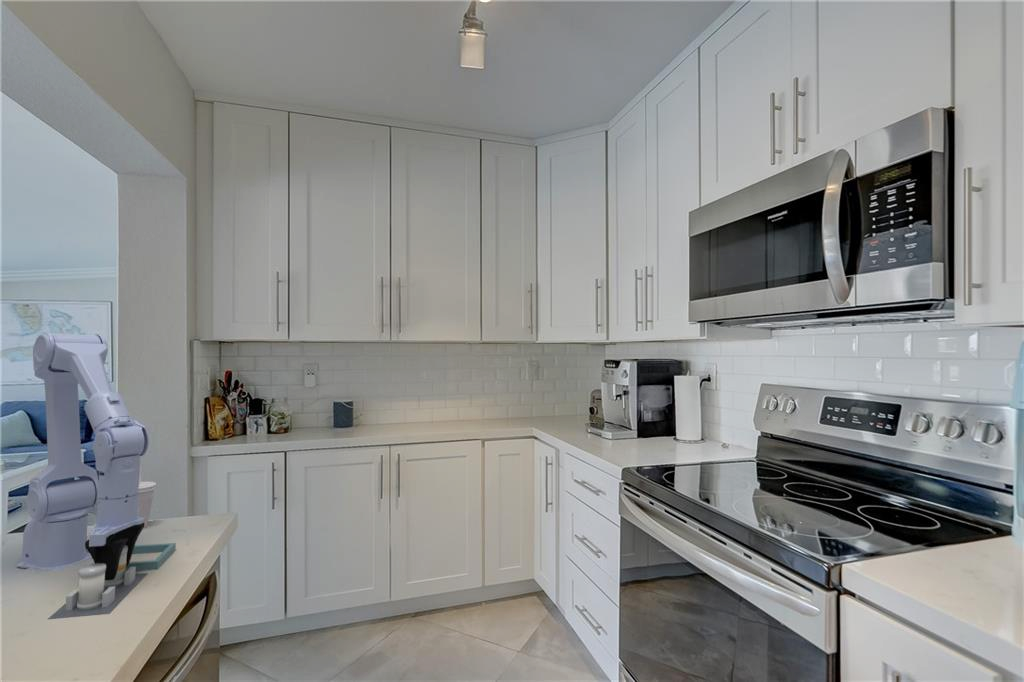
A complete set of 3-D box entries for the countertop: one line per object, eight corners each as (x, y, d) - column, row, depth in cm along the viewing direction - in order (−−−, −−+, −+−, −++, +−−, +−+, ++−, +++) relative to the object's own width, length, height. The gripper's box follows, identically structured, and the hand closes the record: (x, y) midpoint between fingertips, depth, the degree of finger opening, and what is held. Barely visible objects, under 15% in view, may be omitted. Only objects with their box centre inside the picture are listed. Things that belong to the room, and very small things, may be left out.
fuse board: (109, 617, 80) (110, 599, 80) (47, 623, 78) (48, 604, 78) (147, 576, 95) (148, 560, 95) (96, 580, 93) (97, 564, 93)
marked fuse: (96, 586, 89) (98, 551, 89) (114, 578, 92) (116, 544, 92) (112, 588, 88) (114, 553, 89) (130, 580, 92) (132, 546, 92)
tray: (157, 572, 96) (157, 561, 97) (94, 576, 94) (94, 565, 94) (175, 552, 106) (175, 542, 106) (118, 556, 103) (118, 546, 103)
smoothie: (149, 520, 124) (152, 462, 124) (158, 526, 120) (161, 466, 120) (116, 526, 119) (120, 465, 119) (124, 533, 115) (128, 470, 115)
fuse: (71, 608, 81) (73, 570, 81) (92, 598, 85) (94, 562, 85) (88, 611, 81) (90, 573, 81) (109, 601, 84) (111, 564, 84)
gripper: (126, 506, 85) (122, 589, 84) (160, 483, 99) (156, 555, 98) (75, 508, 83) (70, 593, 83) (117, 484, 97) (113, 557, 96)
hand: (114, 572), depth 90 cm, fingers open, 5 cm apart
